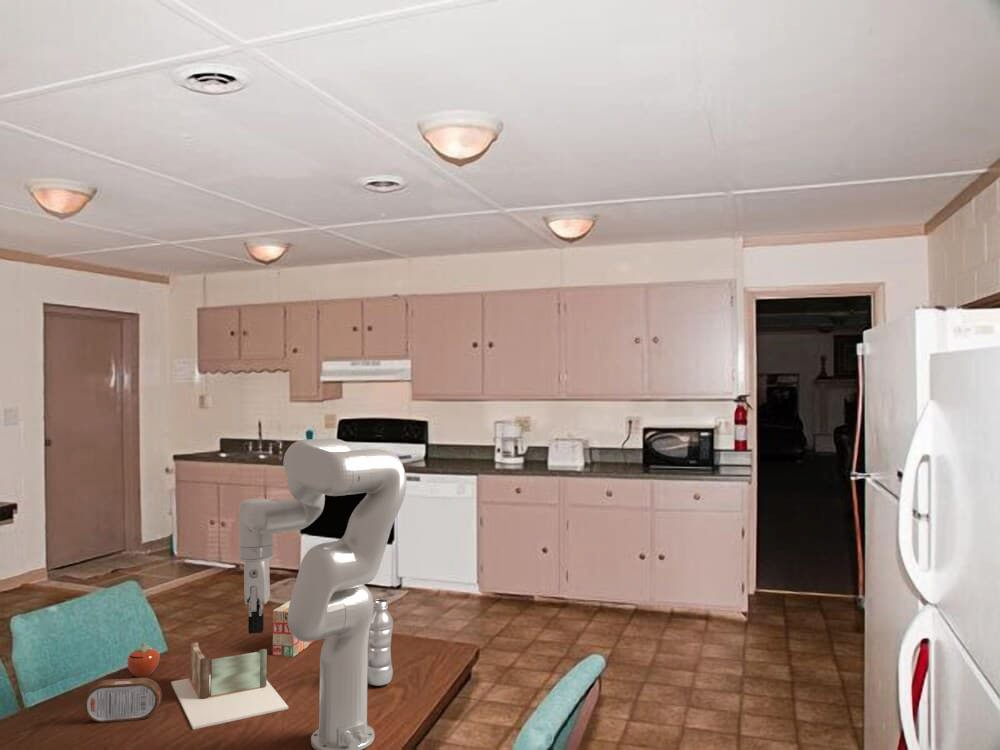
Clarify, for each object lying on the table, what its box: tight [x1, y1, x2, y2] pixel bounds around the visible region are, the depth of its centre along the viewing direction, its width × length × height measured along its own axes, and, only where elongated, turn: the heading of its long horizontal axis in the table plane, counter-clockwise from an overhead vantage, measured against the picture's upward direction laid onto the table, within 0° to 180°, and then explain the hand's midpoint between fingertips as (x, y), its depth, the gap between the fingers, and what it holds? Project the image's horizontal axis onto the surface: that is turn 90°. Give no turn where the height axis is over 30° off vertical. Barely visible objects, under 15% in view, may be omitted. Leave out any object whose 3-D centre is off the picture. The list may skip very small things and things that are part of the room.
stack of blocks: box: [271, 600, 315, 658], centre depth 211 cm, size 21×6×12 cm, turn 169°
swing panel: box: [210, 648, 268, 696], centre depth 175 cm, size 12×2×8 cm, turn 120°
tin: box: [83, 677, 163, 723], centre depth 161 cm, size 15×3×8 cm, turn 102°
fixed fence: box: [189, 641, 211, 699], centre depth 177 cm, size 15×2×9 cm, turn 32°
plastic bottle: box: [367, 598, 394, 687], centre depth 181 cm, size 6×7×20 cm
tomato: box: [126, 642, 161, 678], centre depth 186 cm, size 7×7×8 cm
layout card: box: [170, 673, 289, 730], centre depth 173 cm, size 29×20×1 cm
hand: (256, 632), depth 173 cm, fingers closed
